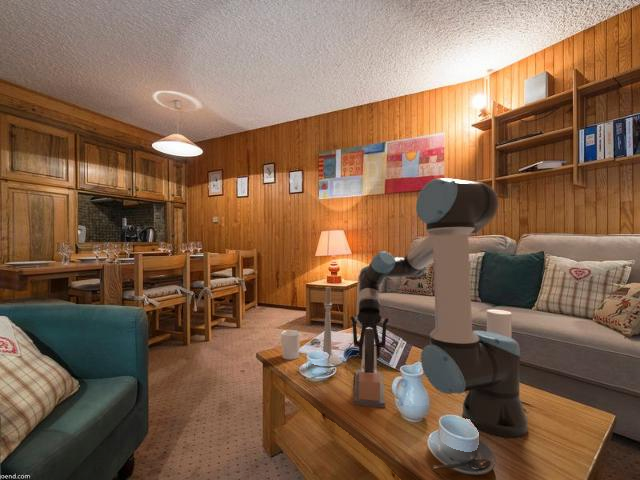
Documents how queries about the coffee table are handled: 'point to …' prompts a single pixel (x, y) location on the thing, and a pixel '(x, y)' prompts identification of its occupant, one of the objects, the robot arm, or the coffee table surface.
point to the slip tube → (369, 351)
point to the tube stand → (369, 389)
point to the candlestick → (329, 331)
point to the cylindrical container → (499, 322)
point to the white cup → (290, 344)
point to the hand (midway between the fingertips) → (369, 367)
